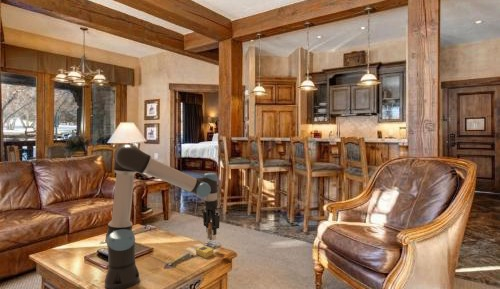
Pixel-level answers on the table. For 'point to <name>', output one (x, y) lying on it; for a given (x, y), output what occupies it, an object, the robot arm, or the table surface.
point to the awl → (210, 230)
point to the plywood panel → (192, 250)
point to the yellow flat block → (204, 251)
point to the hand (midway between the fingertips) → (211, 239)
